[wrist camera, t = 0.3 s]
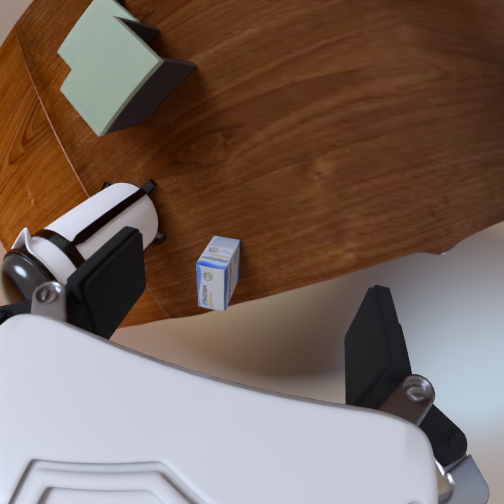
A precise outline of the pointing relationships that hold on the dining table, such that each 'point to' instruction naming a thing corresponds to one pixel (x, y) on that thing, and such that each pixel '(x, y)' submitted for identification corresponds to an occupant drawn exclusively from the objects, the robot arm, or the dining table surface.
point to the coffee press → (77, 238)
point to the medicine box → (218, 272)
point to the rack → (116, 68)
